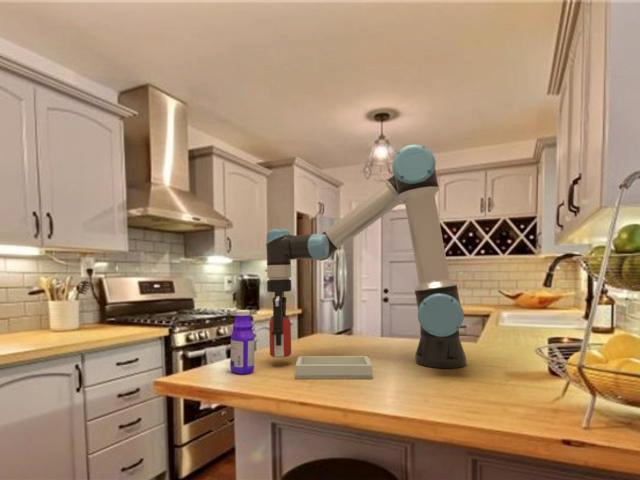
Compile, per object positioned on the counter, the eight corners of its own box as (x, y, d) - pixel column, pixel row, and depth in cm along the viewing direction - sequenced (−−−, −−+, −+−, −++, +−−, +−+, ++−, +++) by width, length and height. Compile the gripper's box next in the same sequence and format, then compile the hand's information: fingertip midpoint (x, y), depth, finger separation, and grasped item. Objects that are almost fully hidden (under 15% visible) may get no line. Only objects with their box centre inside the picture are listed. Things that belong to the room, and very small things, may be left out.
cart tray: (367, 368, 120) (367, 356, 121) (372, 379, 108) (372, 365, 108) (298, 368, 121) (298, 356, 121) (295, 379, 109) (295, 365, 109)
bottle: (258, 372, 116) (258, 310, 118) (241, 376, 112) (242, 311, 113) (242, 368, 121) (243, 309, 122) (226, 372, 117) (227, 310, 118)
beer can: (278, 358, 121) (277, 317, 122) (265, 356, 126) (265, 316, 127) (295, 355, 126) (294, 316, 127) (283, 352, 131) (282, 314, 132)
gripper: (271, 279, 138) (272, 348, 136) (262, 279, 118) (263, 361, 116) (293, 278, 138) (295, 348, 136) (288, 278, 118) (289, 360, 116)
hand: (280, 353), depth 126 cm, fingers closed on beer can, 6 cm apart
